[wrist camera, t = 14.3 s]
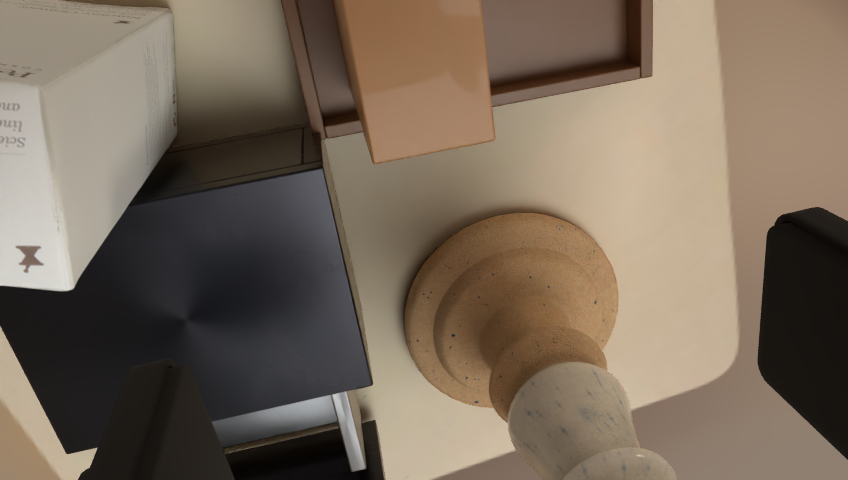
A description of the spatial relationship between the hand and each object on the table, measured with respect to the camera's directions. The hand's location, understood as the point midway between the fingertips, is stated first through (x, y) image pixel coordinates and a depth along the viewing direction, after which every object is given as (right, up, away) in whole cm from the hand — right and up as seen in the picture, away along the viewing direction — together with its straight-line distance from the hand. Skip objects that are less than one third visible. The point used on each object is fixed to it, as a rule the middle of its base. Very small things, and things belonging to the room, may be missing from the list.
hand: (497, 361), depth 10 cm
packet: (-3, +12, +19) cm, 22 cm away
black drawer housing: (-12, +2, +23) cm, 26 cm away
